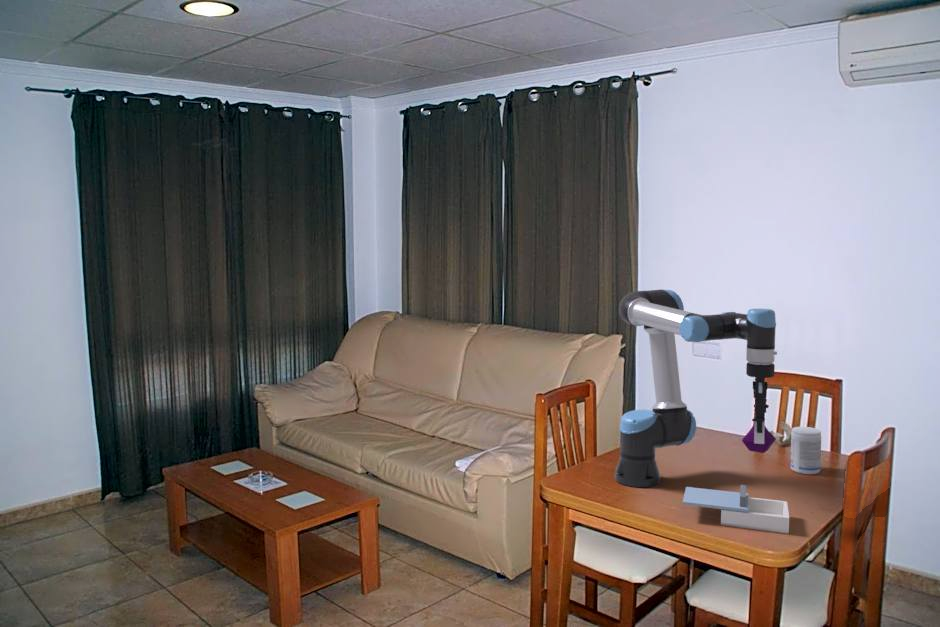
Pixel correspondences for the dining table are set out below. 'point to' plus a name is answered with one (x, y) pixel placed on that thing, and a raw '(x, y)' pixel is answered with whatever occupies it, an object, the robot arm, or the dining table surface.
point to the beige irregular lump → (780, 436)
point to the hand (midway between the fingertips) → (758, 438)
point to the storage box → (759, 516)
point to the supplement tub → (805, 450)
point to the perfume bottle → (761, 448)
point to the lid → (717, 498)
